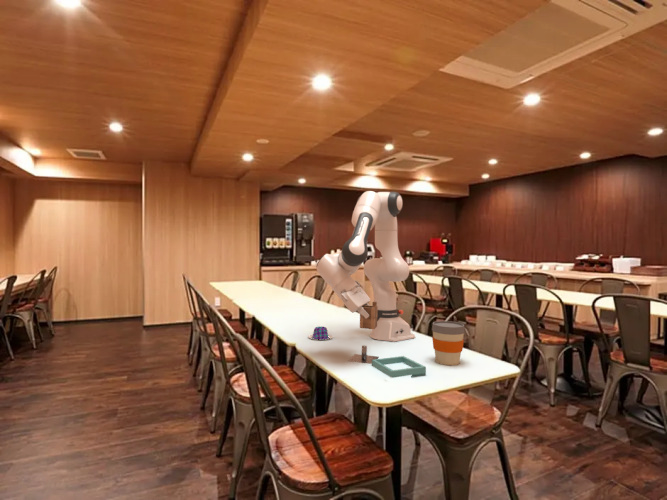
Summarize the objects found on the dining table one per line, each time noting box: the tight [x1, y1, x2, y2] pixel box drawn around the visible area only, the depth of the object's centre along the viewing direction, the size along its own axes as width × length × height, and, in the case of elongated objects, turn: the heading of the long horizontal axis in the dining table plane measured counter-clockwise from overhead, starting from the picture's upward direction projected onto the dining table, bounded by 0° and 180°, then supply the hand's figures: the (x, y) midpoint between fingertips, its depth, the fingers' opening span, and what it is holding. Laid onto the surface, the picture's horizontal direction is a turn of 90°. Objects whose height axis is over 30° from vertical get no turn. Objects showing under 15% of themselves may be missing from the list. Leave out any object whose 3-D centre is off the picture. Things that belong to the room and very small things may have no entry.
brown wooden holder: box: [359, 301, 378, 330], centre depth 150 cm, size 6×6×10 cm
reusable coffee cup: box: [431, 320, 466, 366], centre depth 154 cm, size 13×13×15 cm
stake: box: [348, 345, 380, 365], centre depth 152 cm, size 10×10×6 cm
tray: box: [371, 355, 427, 378], centre depth 141 cm, size 14×14×3 cm
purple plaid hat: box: [307, 326, 334, 341], centre depth 189 cm, size 12×12×5 cm
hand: (370, 315), depth 150 cm, fingers closed on brown wooden holder, 6 cm apart
